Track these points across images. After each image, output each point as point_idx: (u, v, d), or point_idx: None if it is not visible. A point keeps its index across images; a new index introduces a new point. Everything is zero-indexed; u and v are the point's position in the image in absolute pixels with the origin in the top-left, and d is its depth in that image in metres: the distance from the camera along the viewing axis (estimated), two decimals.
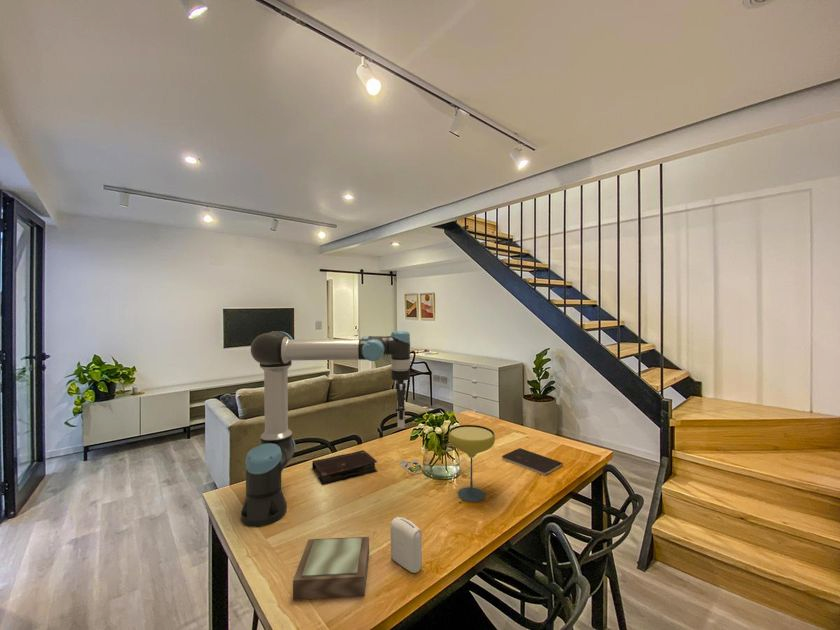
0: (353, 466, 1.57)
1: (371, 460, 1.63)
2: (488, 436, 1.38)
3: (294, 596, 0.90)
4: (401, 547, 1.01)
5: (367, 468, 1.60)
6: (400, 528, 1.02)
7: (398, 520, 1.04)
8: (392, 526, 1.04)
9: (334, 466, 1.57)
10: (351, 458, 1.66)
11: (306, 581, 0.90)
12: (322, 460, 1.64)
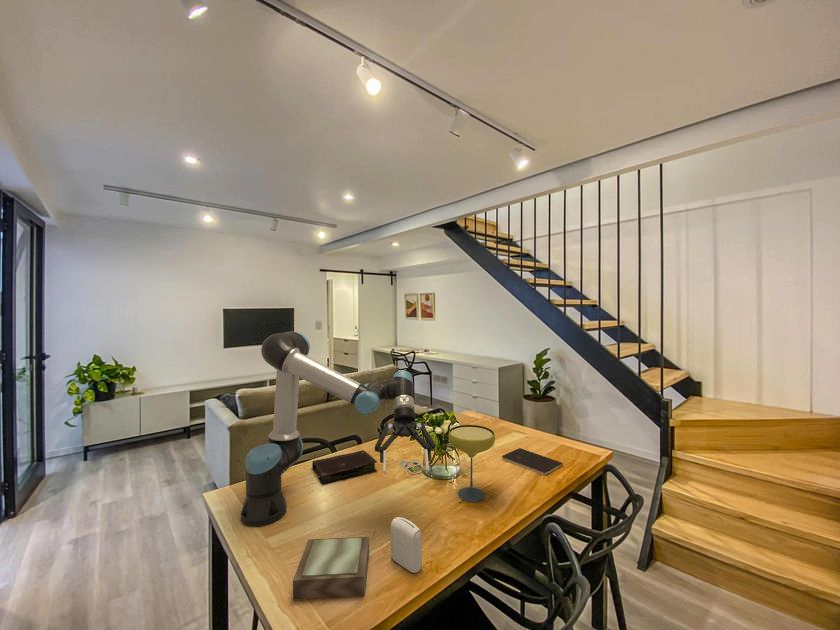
0: (353, 466, 1.57)
1: (371, 460, 1.63)
2: (488, 436, 1.38)
3: (294, 596, 0.90)
4: (401, 547, 1.01)
5: (367, 468, 1.60)
6: (400, 528, 1.02)
7: (398, 520, 1.04)
8: (392, 526, 1.04)
9: (334, 466, 1.57)
10: (351, 458, 1.66)
11: (306, 581, 0.90)
12: (322, 460, 1.64)
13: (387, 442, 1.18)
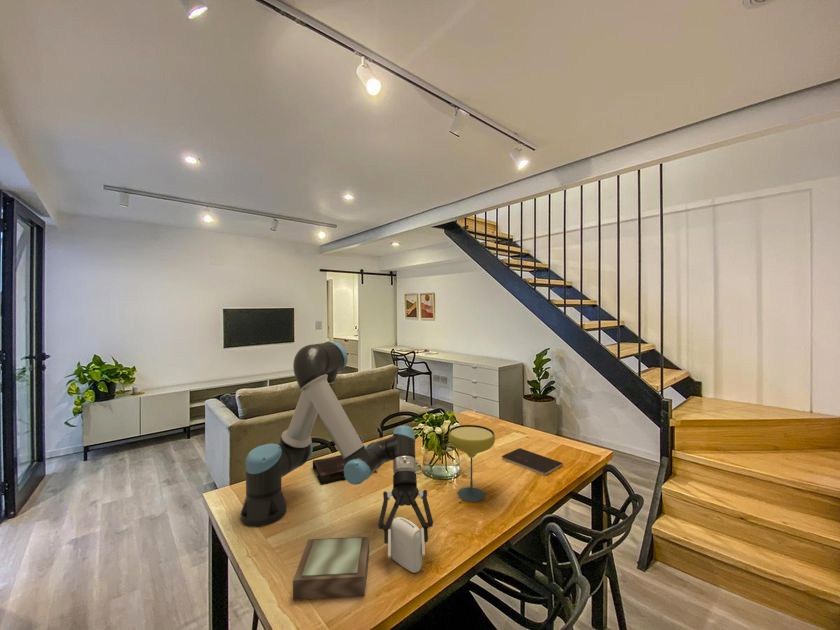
0: None
1: None
2: (488, 436, 1.38)
3: (294, 596, 0.90)
4: (401, 547, 1.01)
5: None
6: (400, 528, 1.02)
7: (398, 520, 1.04)
8: (392, 526, 1.04)
9: (334, 466, 1.57)
10: None
11: (306, 581, 0.90)
12: (322, 460, 1.64)
13: (390, 517, 1.05)
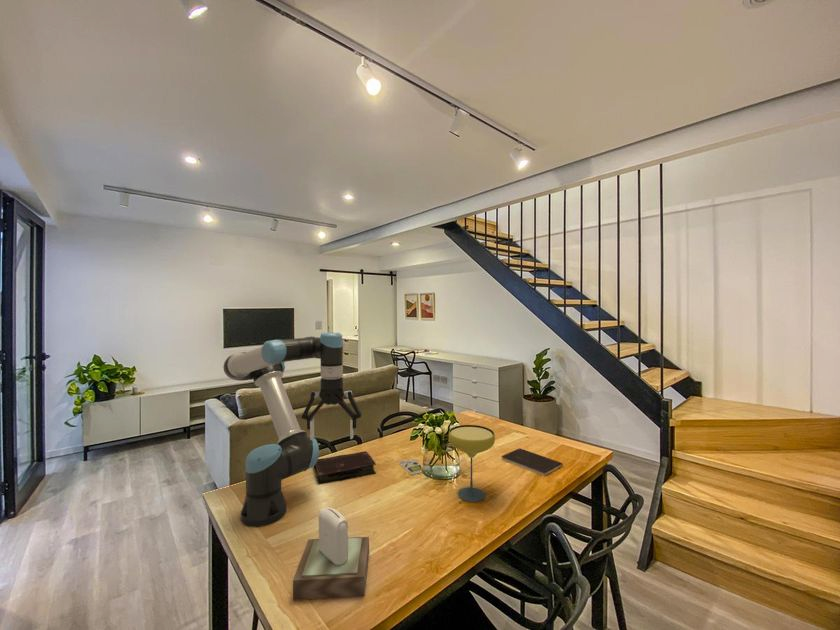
0: (351, 467, 1.56)
1: (370, 462, 1.61)
2: (488, 436, 1.38)
3: (294, 596, 0.90)
4: (326, 538, 0.97)
5: (366, 470, 1.58)
6: (326, 518, 0.97)
7: (325, 510, 1.00)
8: (319, 516, 1.00)
9: (333, 466, 1.57)
10: (352, 458, 1.65)
11: (306, 581, 0.90)
12: (323, 459, 1.65)
13: (313, 413, 1.22)
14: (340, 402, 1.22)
